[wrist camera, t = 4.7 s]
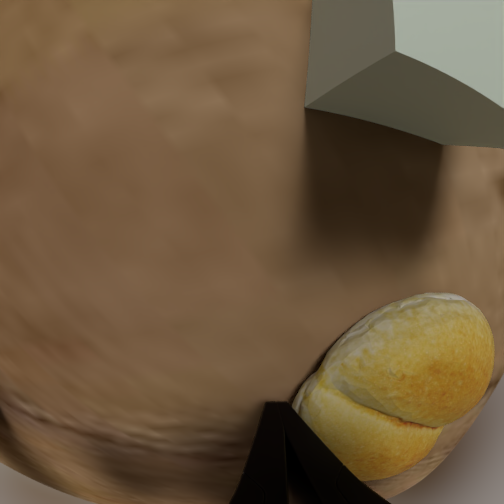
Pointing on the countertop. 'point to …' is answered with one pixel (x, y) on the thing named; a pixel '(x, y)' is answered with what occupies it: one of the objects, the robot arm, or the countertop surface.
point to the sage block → (412, 66)
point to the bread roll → (398, 382)
